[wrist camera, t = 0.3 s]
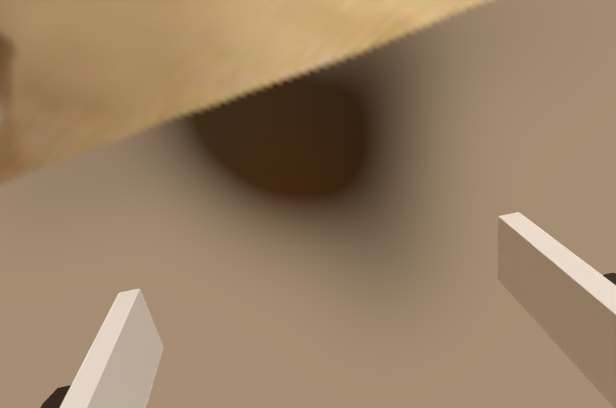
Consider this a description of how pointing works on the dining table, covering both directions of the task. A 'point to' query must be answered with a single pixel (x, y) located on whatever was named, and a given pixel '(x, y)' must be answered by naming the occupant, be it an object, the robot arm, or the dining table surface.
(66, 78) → the dining table surface
